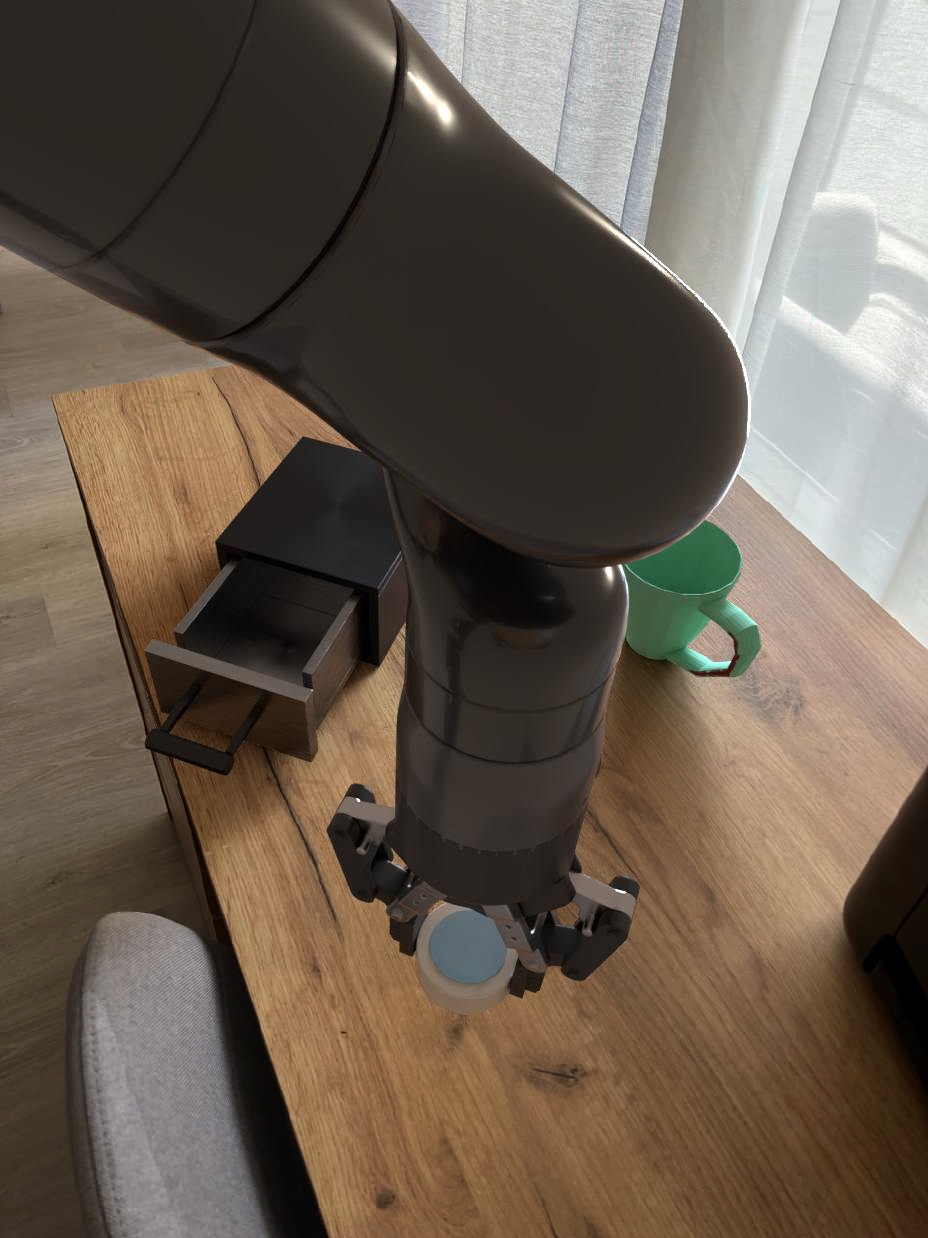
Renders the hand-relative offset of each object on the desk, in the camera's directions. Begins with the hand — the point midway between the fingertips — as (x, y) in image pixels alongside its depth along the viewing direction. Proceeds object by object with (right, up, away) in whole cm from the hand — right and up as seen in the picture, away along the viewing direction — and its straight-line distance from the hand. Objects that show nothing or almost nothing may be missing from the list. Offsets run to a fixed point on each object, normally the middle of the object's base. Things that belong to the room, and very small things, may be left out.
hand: (467, 958), depth 48 cm
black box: (-11, +20, +36) cm, 43 cm away
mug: (+17, +14, +32) cm, 39 cm away
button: (0, -1, 0) cm, 1 cm away
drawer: (-16, +11, +25) cm, 32 cm away
